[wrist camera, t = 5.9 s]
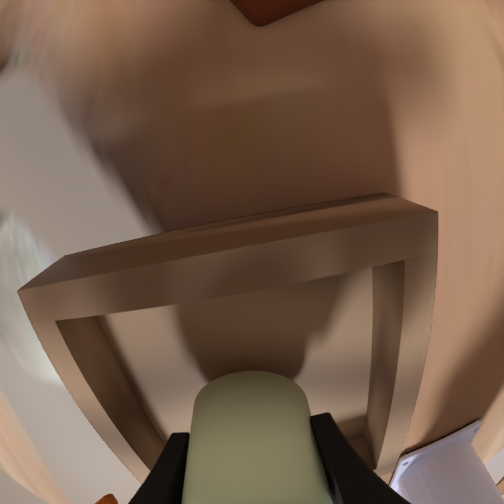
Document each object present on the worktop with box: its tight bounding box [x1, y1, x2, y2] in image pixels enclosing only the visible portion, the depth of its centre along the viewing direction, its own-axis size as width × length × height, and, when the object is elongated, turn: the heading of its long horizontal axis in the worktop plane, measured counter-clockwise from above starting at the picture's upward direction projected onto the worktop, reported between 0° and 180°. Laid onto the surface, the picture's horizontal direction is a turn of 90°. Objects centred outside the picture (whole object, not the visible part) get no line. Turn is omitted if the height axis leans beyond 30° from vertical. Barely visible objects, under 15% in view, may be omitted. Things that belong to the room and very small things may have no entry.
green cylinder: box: [181, 371, 333, 504], centre depth 8 cm, size 4×4×5 cm
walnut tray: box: [17, 193, 438, 484], centre depth 11 cm, size 14×13×4 cm
